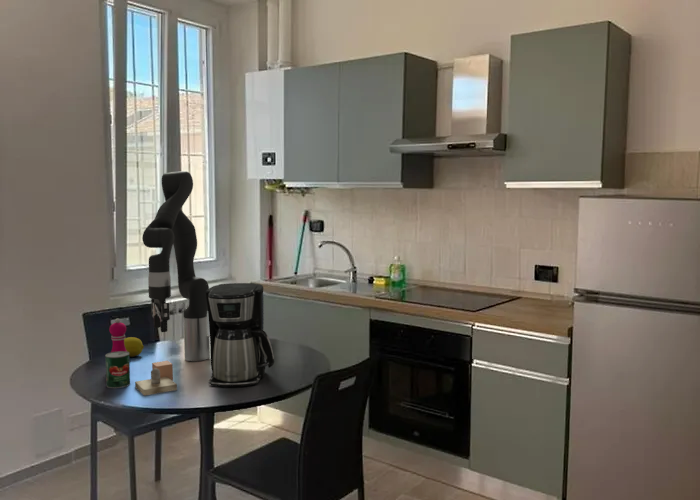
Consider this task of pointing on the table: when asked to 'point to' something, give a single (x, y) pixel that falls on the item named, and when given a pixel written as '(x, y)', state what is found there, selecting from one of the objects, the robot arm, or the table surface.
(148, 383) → the post base
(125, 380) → the canned tomato
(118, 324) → the pepper mill
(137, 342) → the lemon
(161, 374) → the cardboard cube
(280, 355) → the table surface
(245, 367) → the coffee maker
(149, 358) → the table surface
